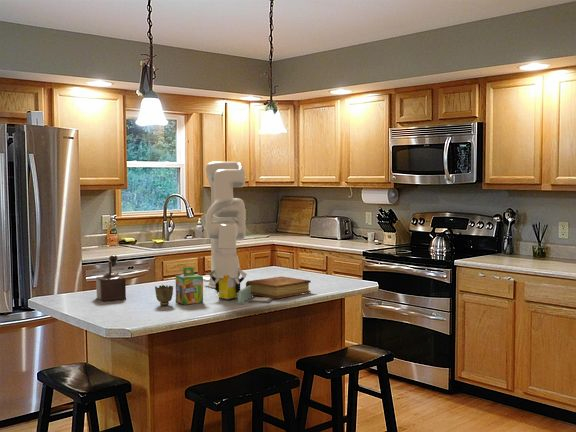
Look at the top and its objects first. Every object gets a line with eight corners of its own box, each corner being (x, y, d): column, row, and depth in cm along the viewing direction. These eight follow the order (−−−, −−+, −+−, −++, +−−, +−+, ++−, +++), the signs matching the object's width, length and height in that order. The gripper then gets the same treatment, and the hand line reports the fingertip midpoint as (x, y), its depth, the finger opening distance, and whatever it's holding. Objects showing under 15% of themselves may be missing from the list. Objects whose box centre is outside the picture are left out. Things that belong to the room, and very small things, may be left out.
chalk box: (183, 305, 264) (183, 269, 263) (174, 301, 272) (174, 267, 271) (204, 303, 269) (203, 268, 268) (194, 299, 277) (194, 265, 276)
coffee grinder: (128, 299, 278) (127, 258, 277) (102, 302, 272) (101, 259, 271) (117, 293, 291) (116, 254, 290) (92, 296, 286) (92, 256, 284)
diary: (280, 288, 305) (280, 276, 305) (310, 293, 292) (310, 280, 292) (245, 293, 288) (245, 280, 287) (276, 298, 275) (276, 285, 275)
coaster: (248, 302, 271) (248, 300, 270) (253, 298, 279) (253, 296, 279) (269, 302, 269) (269, 301, 269) (273, 298, 278) (273, 297, 278)
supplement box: (228, 297, 282) (228, 272, 281) (237, 298, 278) (237, 273, 277) (218, 299, 278) (217, 274, 277) (227, 300, 274) (227, 275, 273)
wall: (236, 304, 267) (236, 292, 267) (246, 296, 284) (246, 285, 283) (243, 304, 266) (243, 292, 266) (253, 296, 283) (253, 285, 283)
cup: (165, 302, 270) (165, 284, 269) (177, 305, 265) (177, 286, 264) (151, 305, 264) (151, 286, 263) (163, 308, 259) (162, 288, 259)
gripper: (205, 252, 275) (206, 293, 276) (244, 253, 271) (245, 294, 272) (210, 250, 282) (211, 290, 283) (249, 251, 279) (249, 291, 280)
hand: (227, 292), depth 278 cm, fingers closed on supplement box, 8 cm apart
